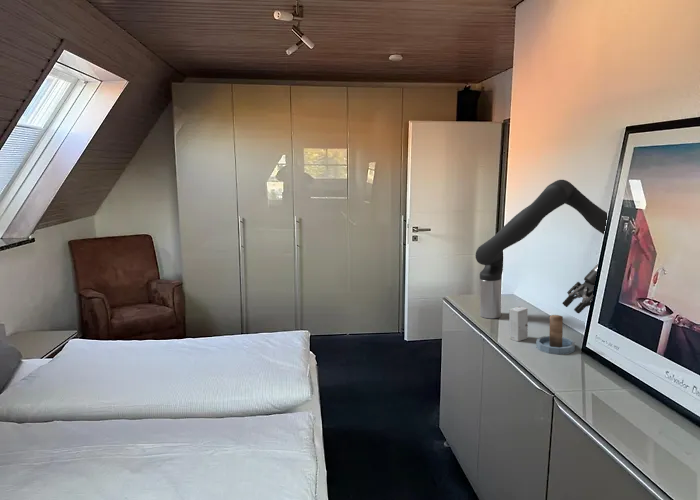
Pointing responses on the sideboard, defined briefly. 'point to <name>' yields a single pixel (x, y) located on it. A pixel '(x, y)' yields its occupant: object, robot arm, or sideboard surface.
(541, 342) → the slate dish
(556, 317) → the walnut canister
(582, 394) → the sideboard surface
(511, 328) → the skincare box
